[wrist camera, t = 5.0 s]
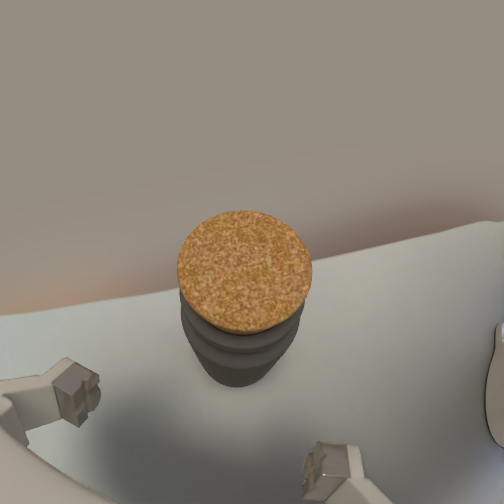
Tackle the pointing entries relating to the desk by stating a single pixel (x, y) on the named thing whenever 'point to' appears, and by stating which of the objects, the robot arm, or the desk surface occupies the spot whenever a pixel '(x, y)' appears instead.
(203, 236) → the bottle
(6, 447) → the robot arm
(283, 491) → the desk surface
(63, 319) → the desk surface
